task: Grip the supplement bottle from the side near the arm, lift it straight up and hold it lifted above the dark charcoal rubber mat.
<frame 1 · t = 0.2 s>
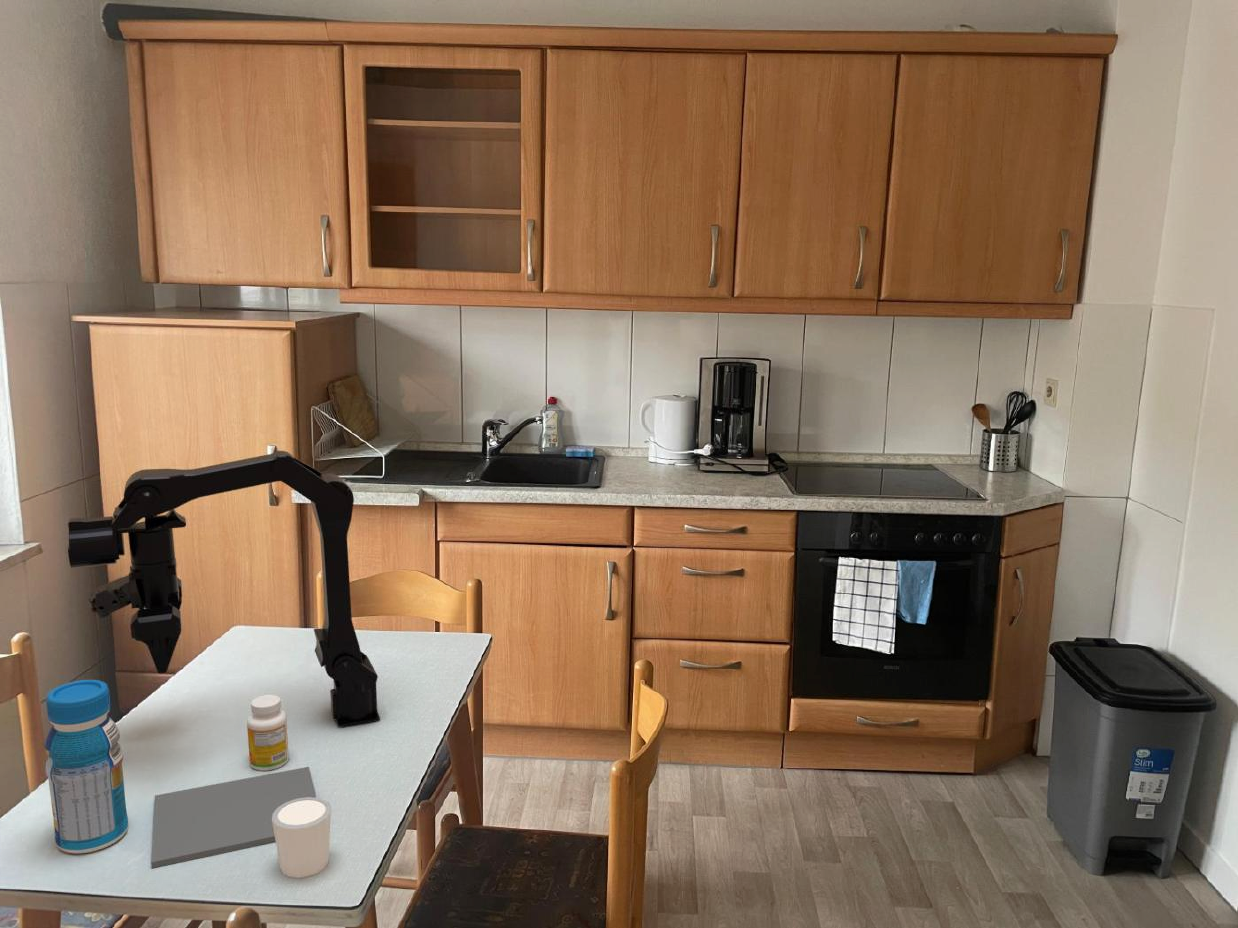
hand: (163, 660, 140), 14 cm above the table, tool pointing down, fingers open, 9 cm apart
cream cup: (304, 864, 117), on the table
beverage bottle: (93, 837, 122), on the table
supplement bottle: (269, 763, 140), on the table
charcoal mat: (237, 815, 127), on the table
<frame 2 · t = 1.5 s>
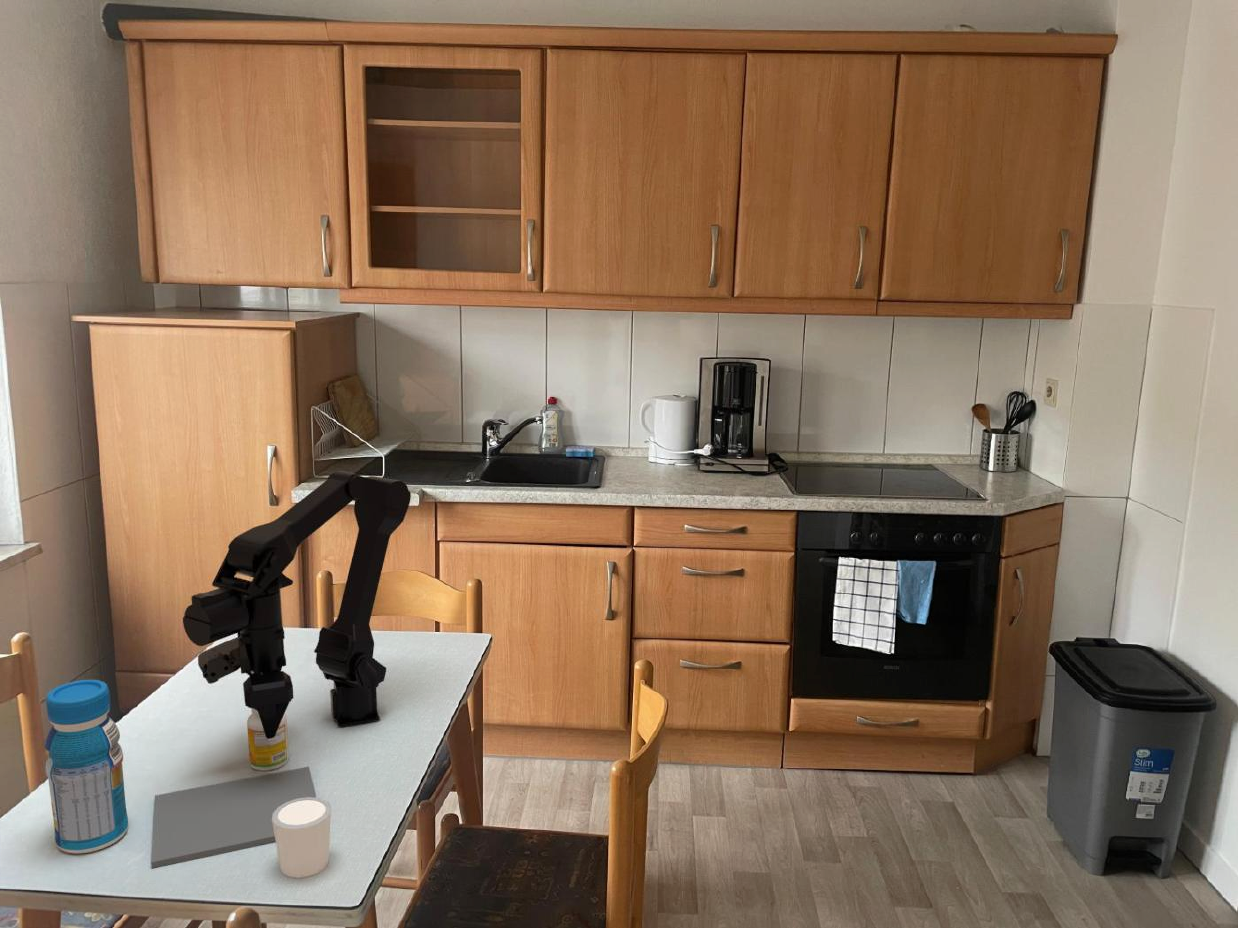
hand: (267, 723, 139), 6 cm above the table, tool pointing down, fingers open, 9 cm apart
nothing on the table moved.
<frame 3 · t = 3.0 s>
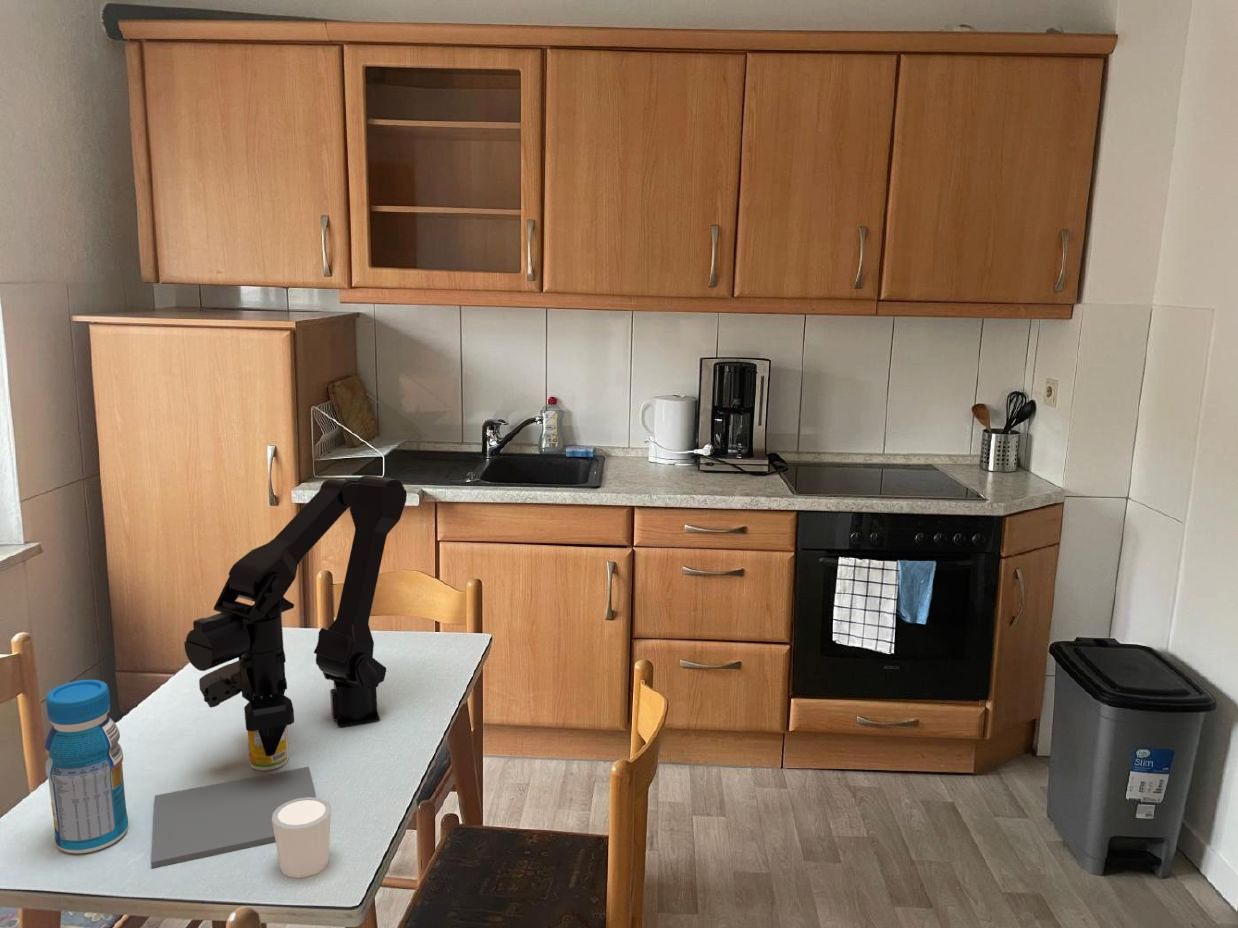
hand: (268, 746, 140), 3 cm above the table, tool pointing down, fingers closed on supplement bottle, 5 cm apart
supplement bottle: (269, 763, 140), on the table, touching gripper
everything else where it was.
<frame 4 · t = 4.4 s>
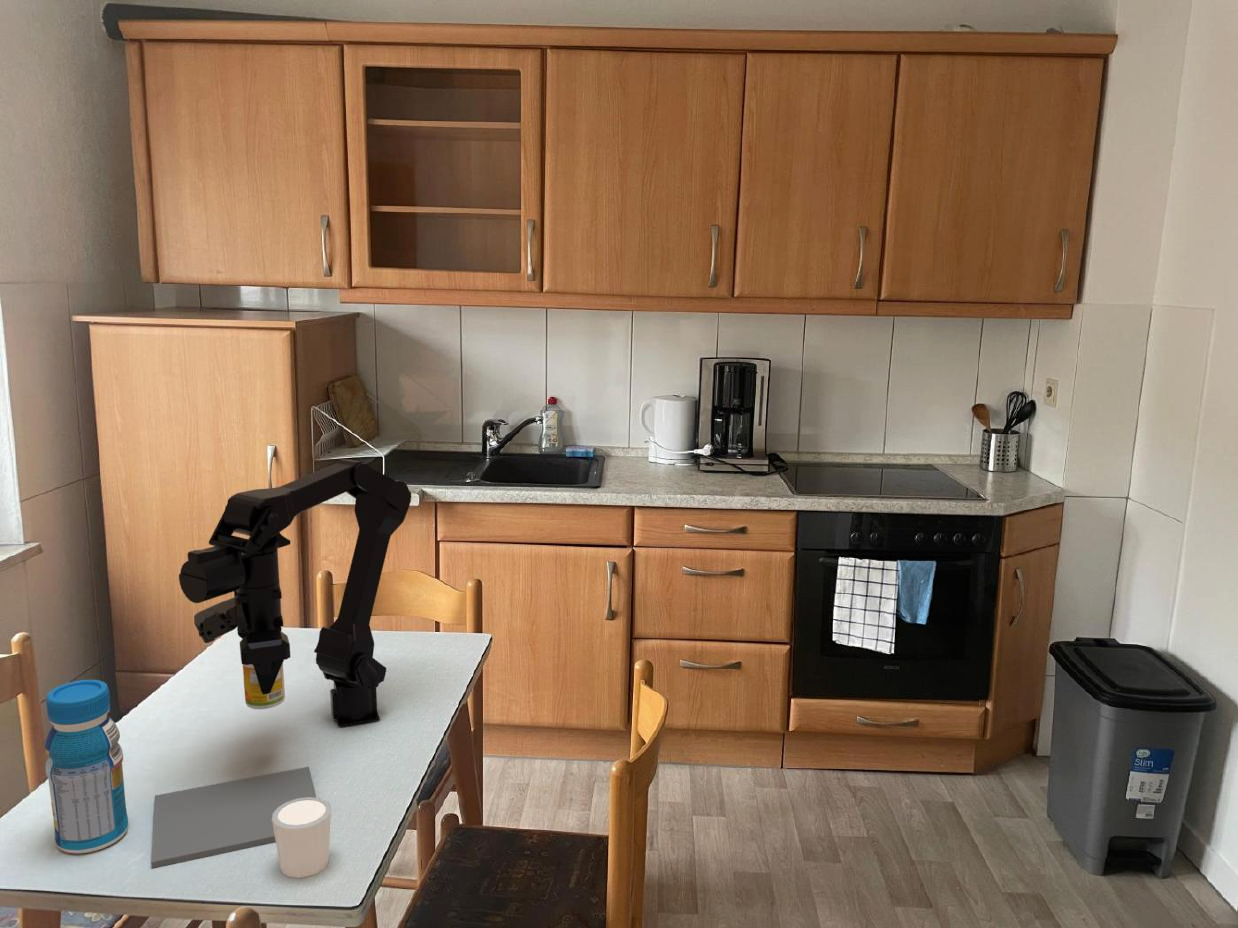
hand: (264, 685, 138), 12 cm above the table, tool pointing down, fingers closed on supplement bottle, 5 cm apart
supplement bottle: (265, 703, 138), point 9 cm above the table, touching gripper
everything else where it was.
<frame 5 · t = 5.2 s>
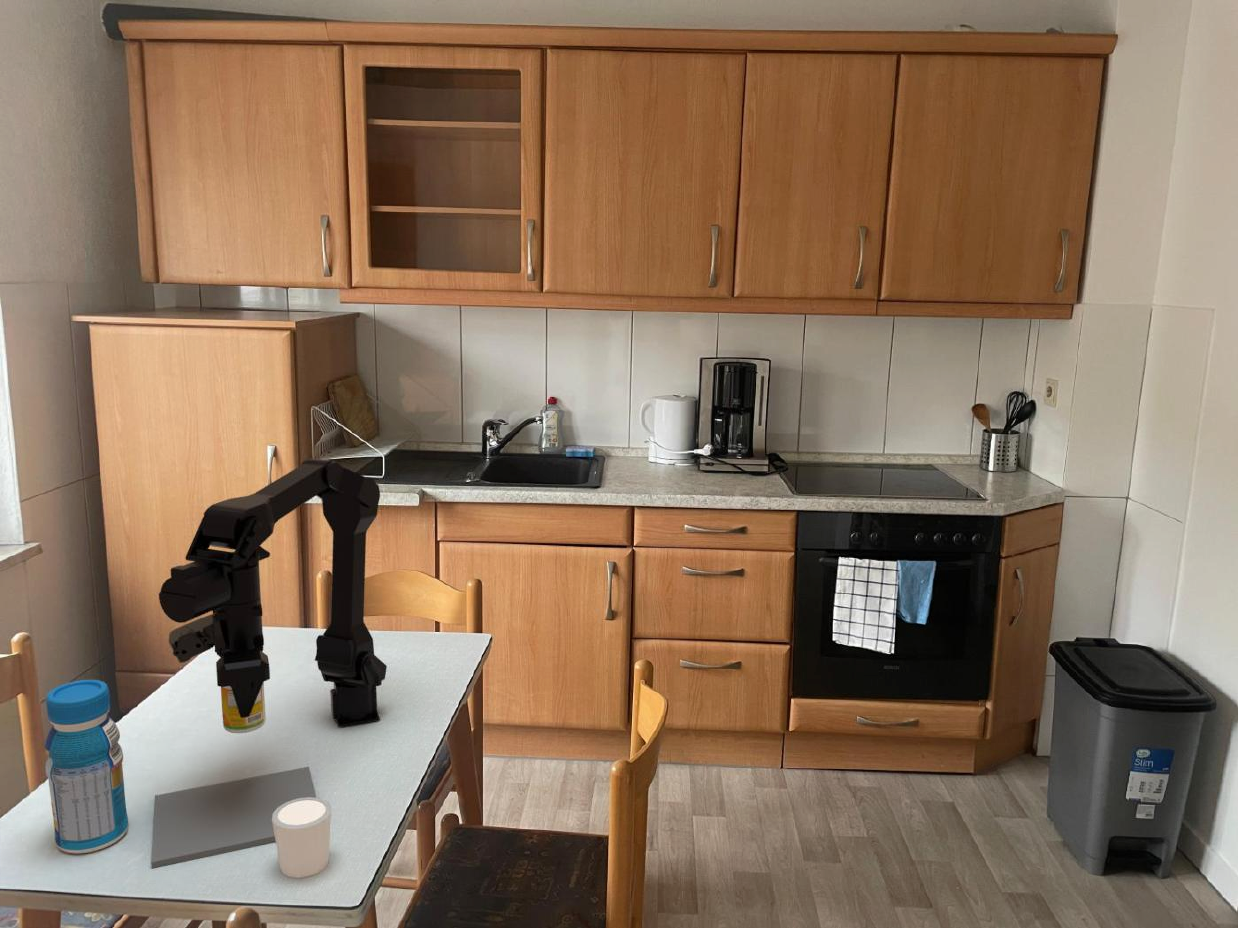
hand: (243, 707, 130), 13 cm above the table, tool pointing down, fingers closed on supplement bottle, 5 cm apart
supplement bottle: (244, 726, 130), point 10 cm above the table, touching gripper
everything else where it was.
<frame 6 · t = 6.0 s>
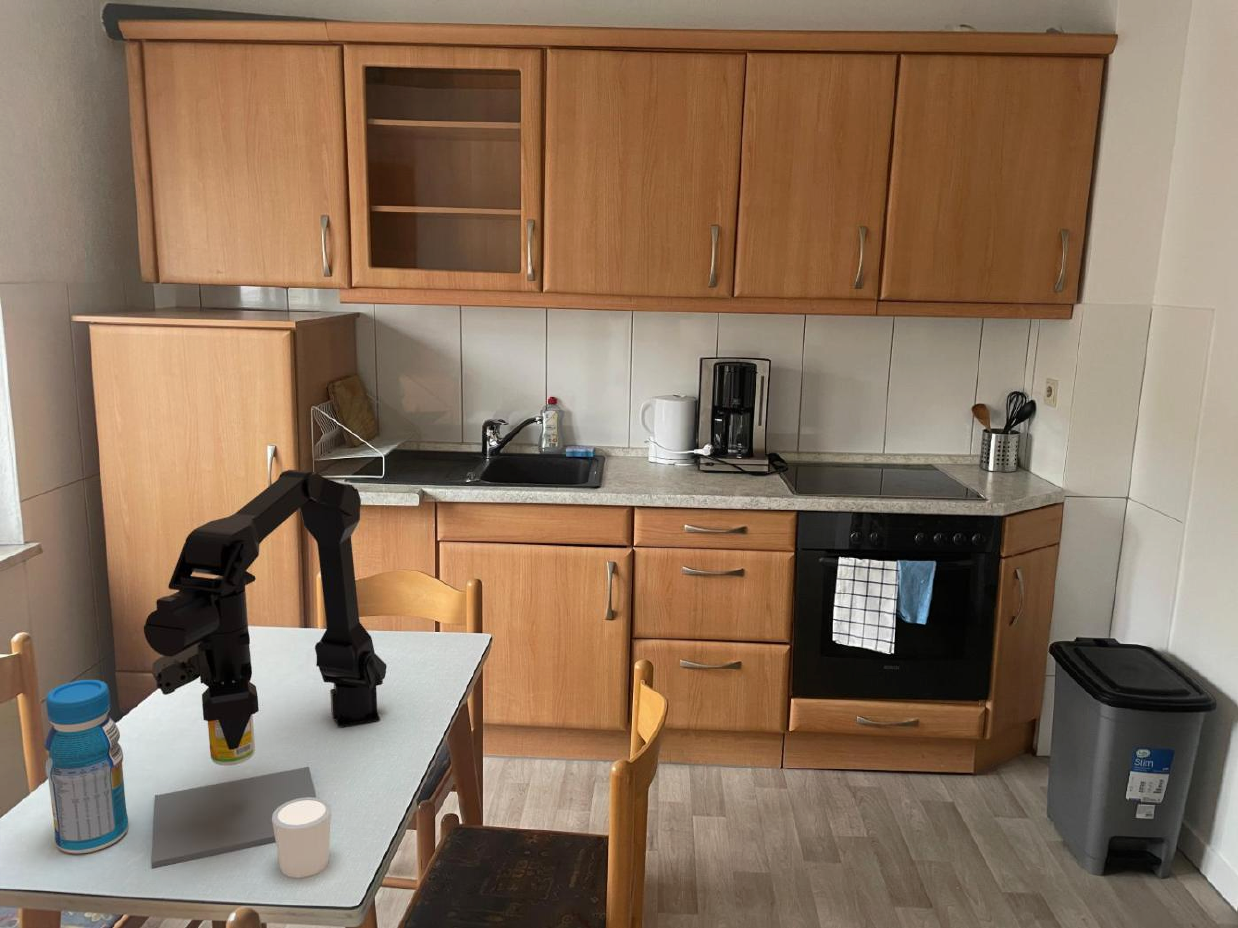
hand: (232, 738, 124), 11 cm above the table, tool pointing down, fingers closed on supplement bottle, 5 cm apart
supplement bottle: (233, 757, 125), point 8 cm above the table, touching gripper
everything else where it was.
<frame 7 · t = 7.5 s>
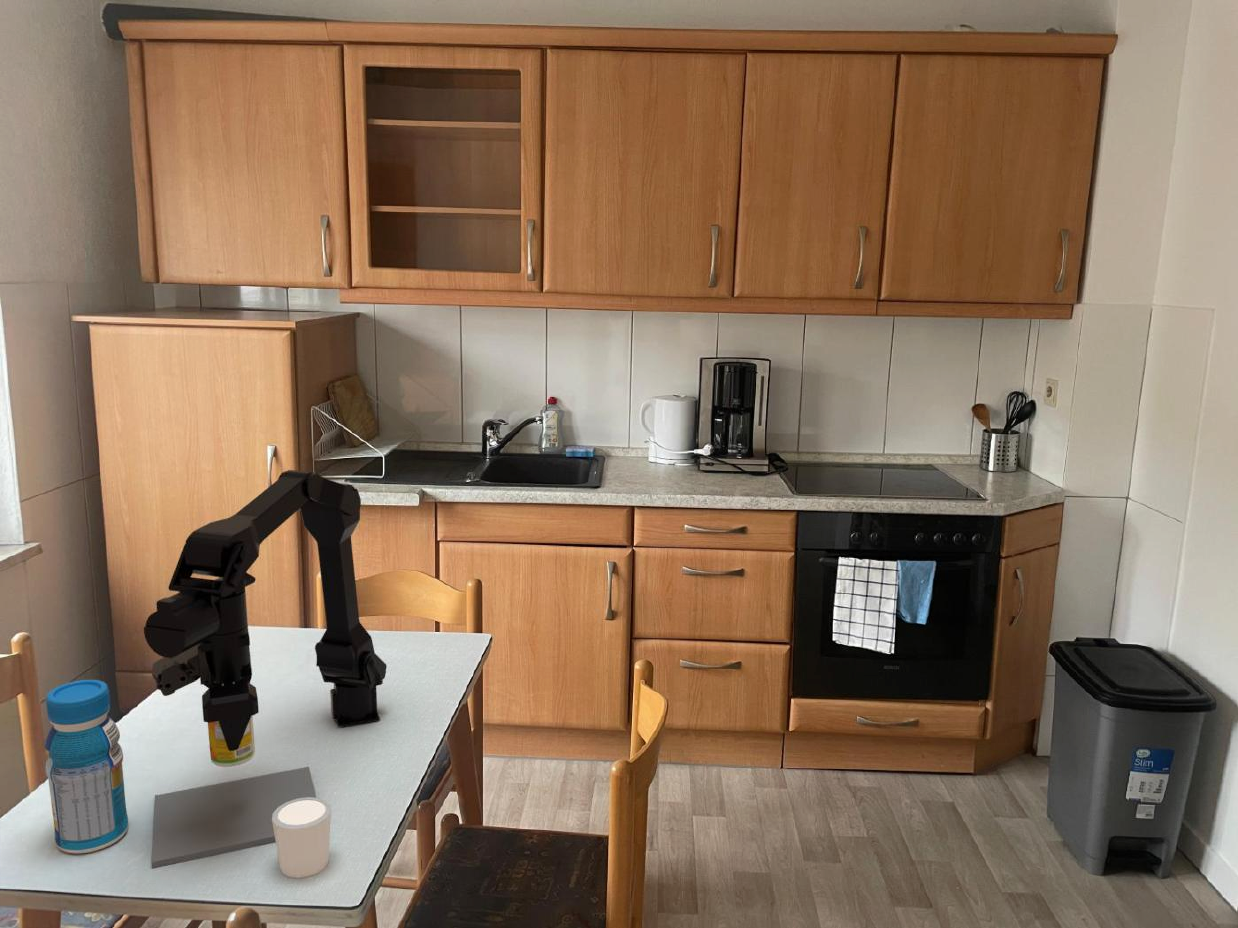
hand: (232, 739, 124), 11 cm above the table, tool pointing down, fingers closed on supplement bottle, 5 cm apart
supplement bottle: (233, 758, 125), point 8 cm above the table, touching gripper
everything else where it was.
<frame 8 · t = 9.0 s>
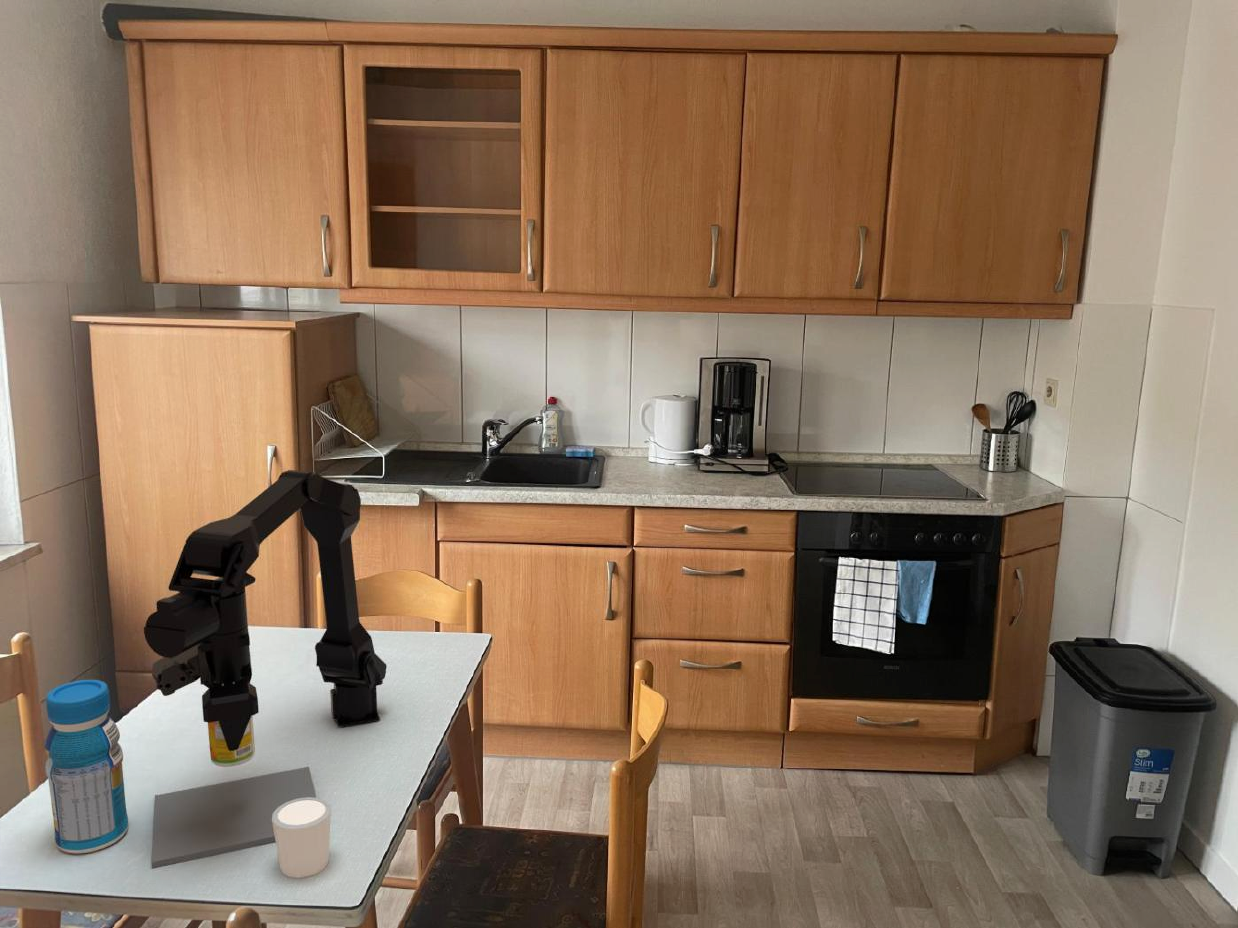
hand: (232, 739, 124), 11 cm above the table, tool pointing down, fingers closed on supplement bottle, 5 cm apart
supplement bottle: (233, 758, 125), point 8 cm above the table, touching gripper
everything else where it was.
at the end: the gripper is holding supplement bottle; supplement bottle inside the target area (0.1 cm from its centre), point 8.2 cm above the table; supplement bottle touching gripper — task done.
